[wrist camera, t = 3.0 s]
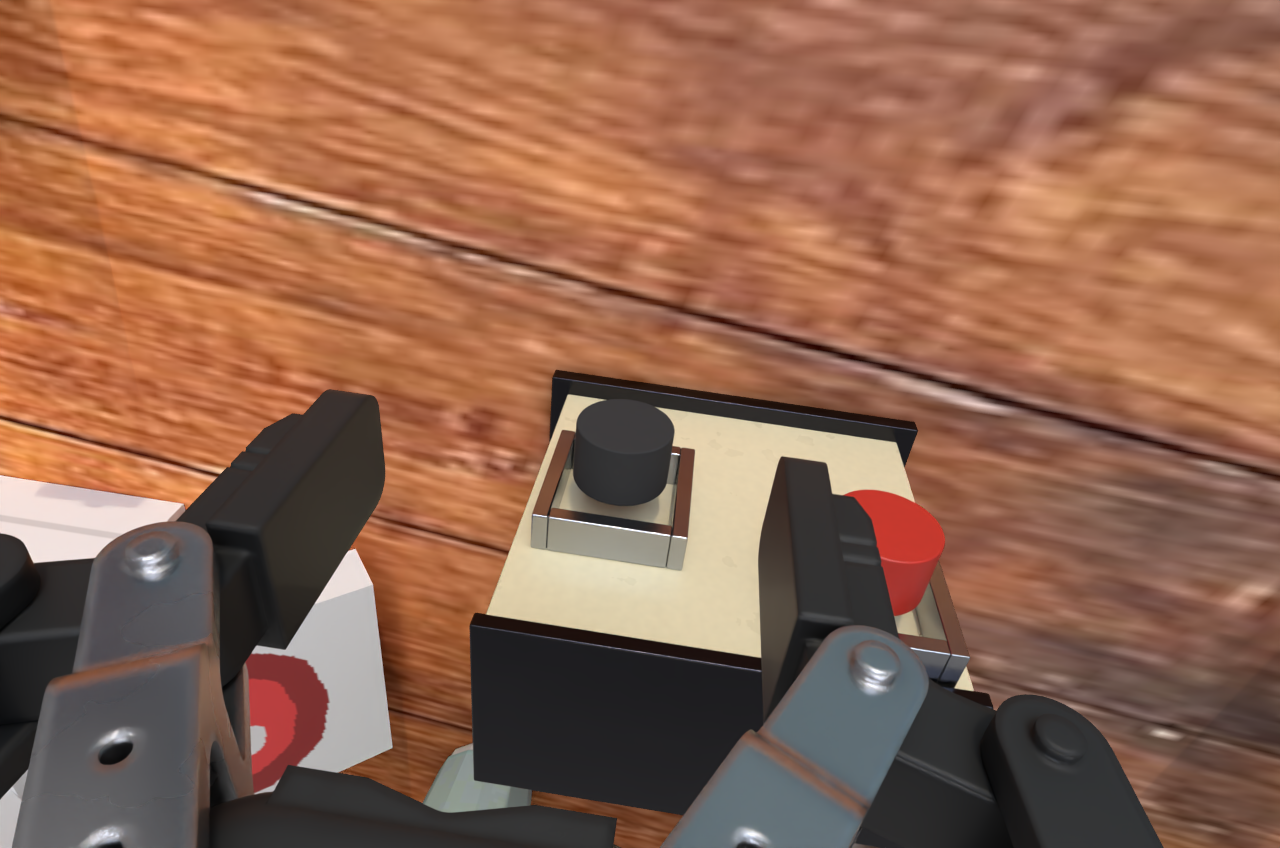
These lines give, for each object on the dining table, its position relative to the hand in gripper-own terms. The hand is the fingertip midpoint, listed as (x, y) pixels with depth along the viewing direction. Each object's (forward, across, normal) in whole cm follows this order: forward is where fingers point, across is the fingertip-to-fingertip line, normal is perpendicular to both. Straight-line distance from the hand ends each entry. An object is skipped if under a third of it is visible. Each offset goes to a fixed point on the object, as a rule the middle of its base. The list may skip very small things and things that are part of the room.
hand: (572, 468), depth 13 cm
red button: (+11, -9, +9) cm, 17 cm away
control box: (+22, -4, +16) cm, 27 cm away
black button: (+15, 0, +9) cm, 17 cm away
